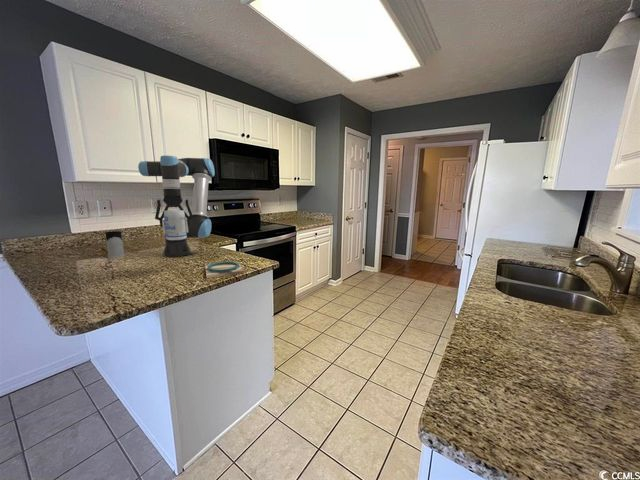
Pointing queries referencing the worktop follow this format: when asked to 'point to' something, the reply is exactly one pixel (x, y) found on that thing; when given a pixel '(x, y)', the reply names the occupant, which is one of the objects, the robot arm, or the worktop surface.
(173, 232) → the supplement tub
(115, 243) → the glass holder
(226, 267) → the nest board
